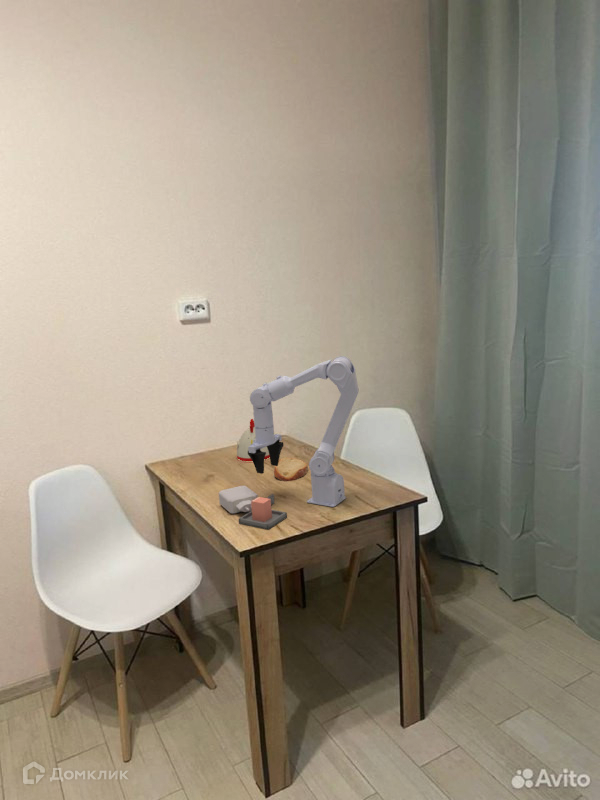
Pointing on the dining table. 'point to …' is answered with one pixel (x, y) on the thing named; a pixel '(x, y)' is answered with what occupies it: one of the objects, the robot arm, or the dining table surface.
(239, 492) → the charger
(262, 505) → the salmon gift carton
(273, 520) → the tray
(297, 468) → the bread slice
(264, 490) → the dining table surface
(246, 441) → the kitchen timer
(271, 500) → the bar
